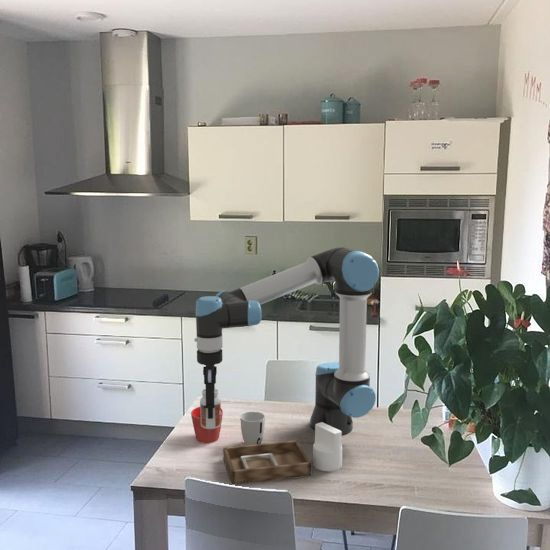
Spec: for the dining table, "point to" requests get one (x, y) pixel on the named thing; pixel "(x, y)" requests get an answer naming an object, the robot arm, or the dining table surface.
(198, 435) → the flower pot
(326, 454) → the cylinder with rectangular tab
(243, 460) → the box
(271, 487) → the dining table surface
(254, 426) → the cup
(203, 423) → the pill bottle
